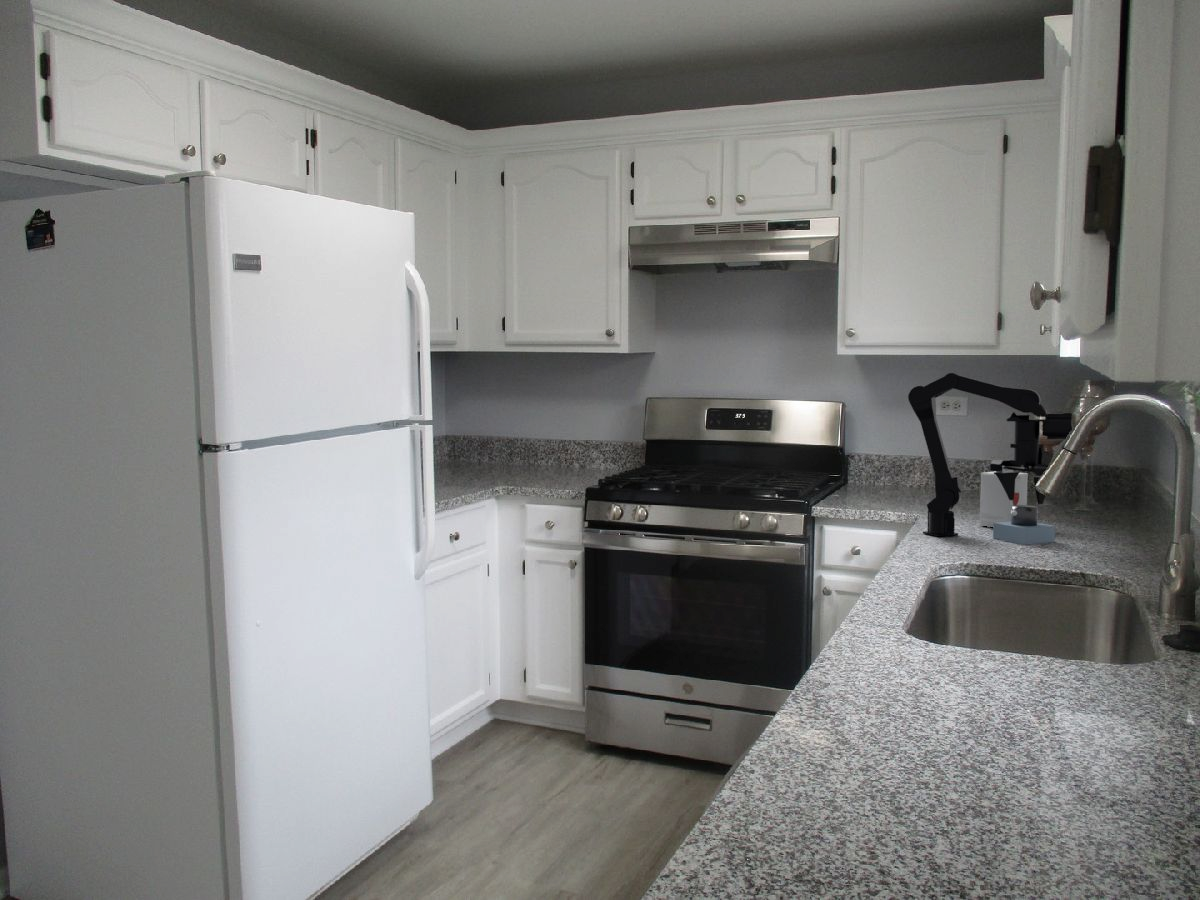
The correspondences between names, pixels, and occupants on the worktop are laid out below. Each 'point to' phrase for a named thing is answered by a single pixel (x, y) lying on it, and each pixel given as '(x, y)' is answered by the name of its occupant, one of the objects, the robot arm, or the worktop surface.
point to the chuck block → (1024, 533)
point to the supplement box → (999, 498)
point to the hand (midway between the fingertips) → (1025, 502)
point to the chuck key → (1024, 515)
